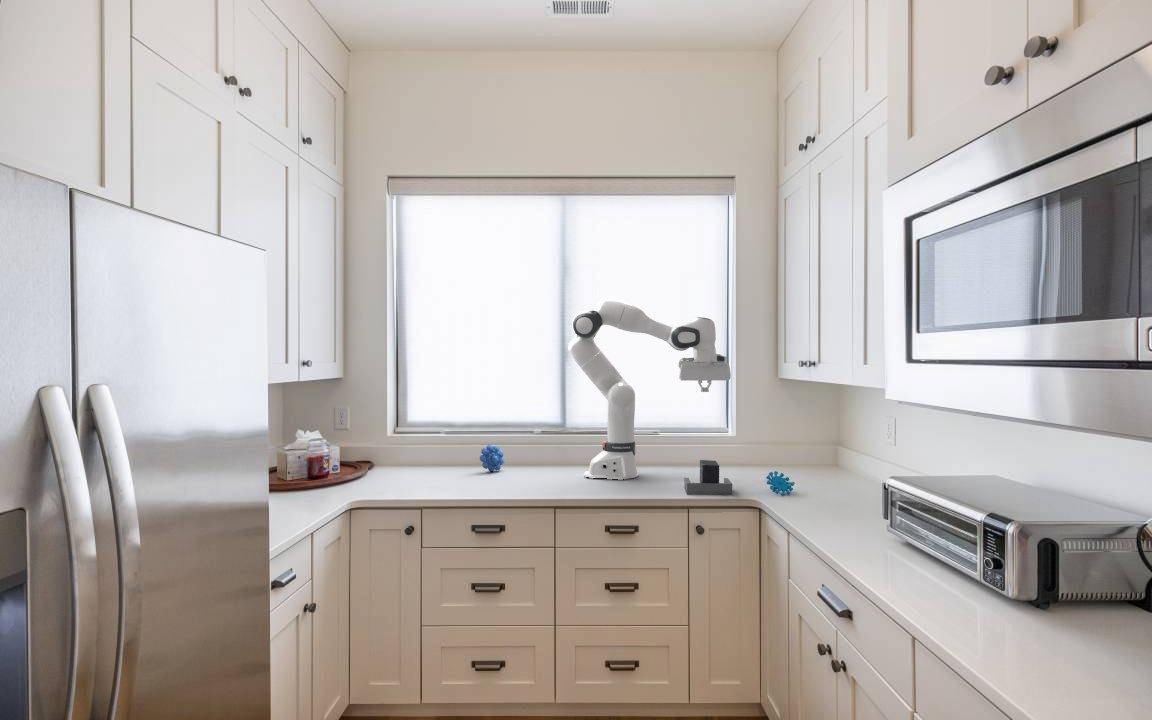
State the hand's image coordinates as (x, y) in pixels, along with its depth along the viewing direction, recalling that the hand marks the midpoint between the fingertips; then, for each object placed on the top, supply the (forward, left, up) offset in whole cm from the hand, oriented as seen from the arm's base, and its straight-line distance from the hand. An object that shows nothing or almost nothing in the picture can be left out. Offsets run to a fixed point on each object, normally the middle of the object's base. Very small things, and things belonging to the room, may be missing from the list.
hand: (704, 391), depth 240 cm
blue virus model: (+24, -25, -35) cm, 49 cm away
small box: (-1, -21, -35) cm, 41 cm away
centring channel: (-2, -23, -35) cm, 42 cm away
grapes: (-89, +8, -35) cm, 96 cm away
